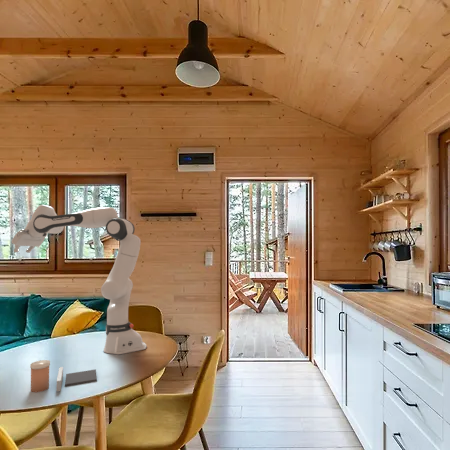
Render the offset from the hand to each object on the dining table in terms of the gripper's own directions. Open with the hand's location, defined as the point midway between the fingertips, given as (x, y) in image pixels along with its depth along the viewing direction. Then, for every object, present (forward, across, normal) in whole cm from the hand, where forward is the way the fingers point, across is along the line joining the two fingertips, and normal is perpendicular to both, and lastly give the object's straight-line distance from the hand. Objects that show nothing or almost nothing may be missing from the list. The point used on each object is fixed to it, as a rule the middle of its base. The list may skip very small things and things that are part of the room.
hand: (21, 252), depth 185 cm
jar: (+27, -46, -67) cm, 86 cm away
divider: (+24, -41, -71) cm, 86 cm away
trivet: (+21, -35, -77) cm, 87 cm away
